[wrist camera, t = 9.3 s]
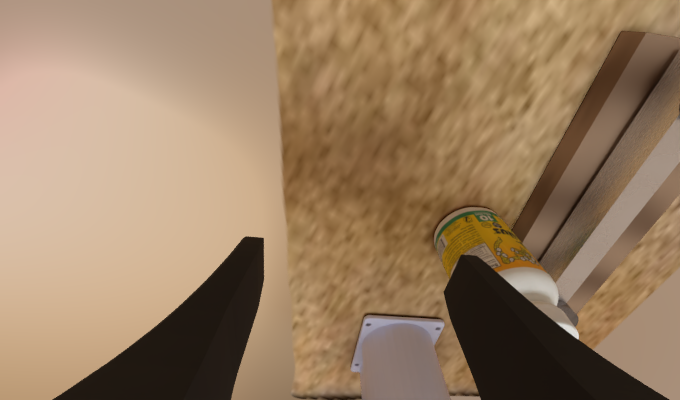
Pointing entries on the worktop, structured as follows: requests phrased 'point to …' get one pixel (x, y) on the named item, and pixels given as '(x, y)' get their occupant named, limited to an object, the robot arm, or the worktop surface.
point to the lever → (619, 189)
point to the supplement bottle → (499, 257)
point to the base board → (601, 155)
